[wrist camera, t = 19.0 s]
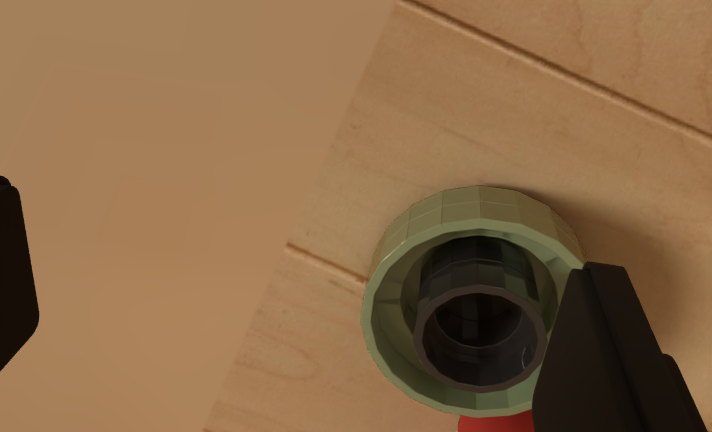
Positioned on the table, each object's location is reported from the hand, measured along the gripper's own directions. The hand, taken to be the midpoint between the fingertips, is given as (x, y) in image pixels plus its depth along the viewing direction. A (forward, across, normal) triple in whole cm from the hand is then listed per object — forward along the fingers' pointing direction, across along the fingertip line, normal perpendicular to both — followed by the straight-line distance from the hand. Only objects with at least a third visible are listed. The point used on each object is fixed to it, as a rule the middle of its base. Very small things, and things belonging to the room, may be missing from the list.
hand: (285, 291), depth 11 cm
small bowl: (+26, -7, +16) cm, 31 cm away
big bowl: (+26, -7, +16) cm, 32 cm away
